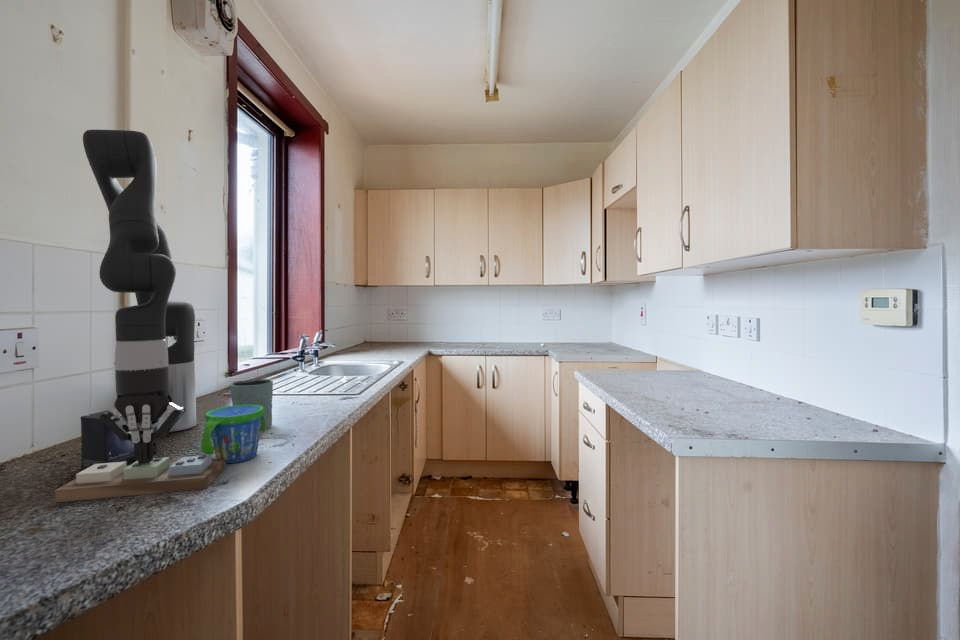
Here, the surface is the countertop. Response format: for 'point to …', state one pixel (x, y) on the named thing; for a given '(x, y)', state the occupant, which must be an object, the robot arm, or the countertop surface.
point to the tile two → (147, 469)
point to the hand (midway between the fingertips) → (145, 461)
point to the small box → (102, 442)
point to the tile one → (101, 472)
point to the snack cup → (233, 432)
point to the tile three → (190, 465)
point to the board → (139, 484)
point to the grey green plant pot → (254, 395)
